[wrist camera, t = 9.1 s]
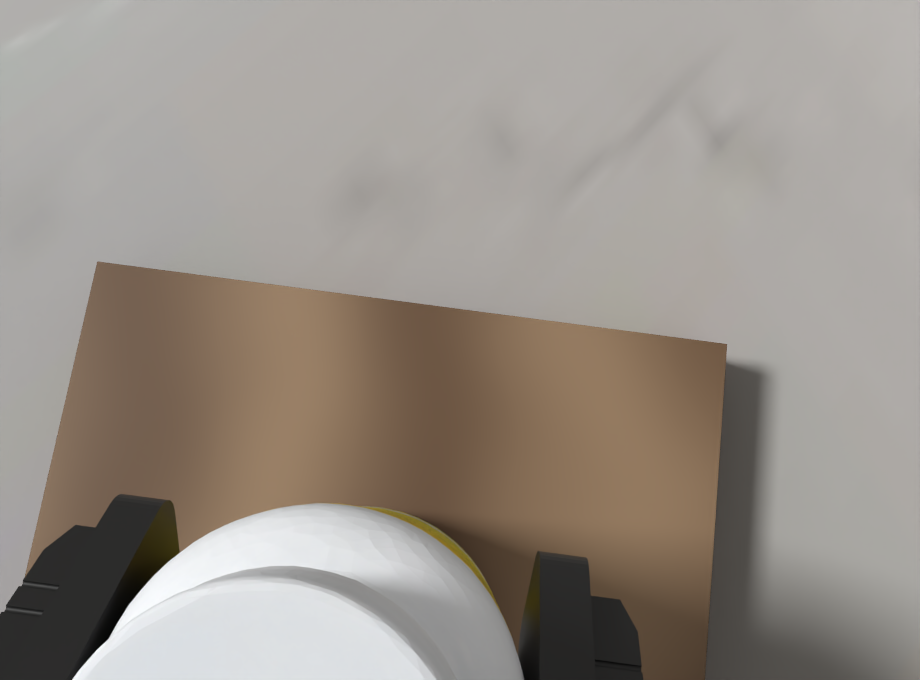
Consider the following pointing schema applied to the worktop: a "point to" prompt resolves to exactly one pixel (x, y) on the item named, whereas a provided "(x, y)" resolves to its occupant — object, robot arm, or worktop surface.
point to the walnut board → (406, 433)
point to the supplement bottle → (313, 605)
